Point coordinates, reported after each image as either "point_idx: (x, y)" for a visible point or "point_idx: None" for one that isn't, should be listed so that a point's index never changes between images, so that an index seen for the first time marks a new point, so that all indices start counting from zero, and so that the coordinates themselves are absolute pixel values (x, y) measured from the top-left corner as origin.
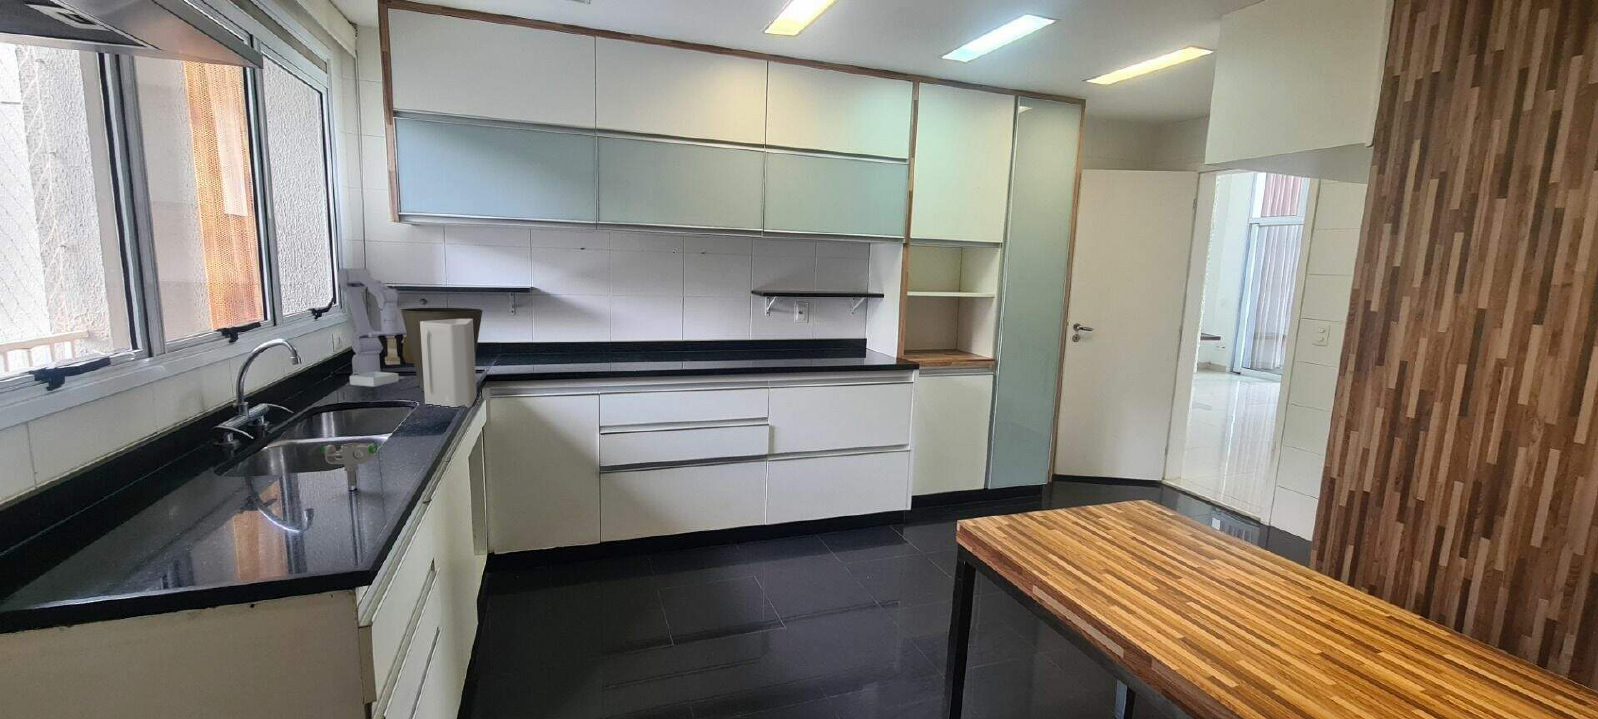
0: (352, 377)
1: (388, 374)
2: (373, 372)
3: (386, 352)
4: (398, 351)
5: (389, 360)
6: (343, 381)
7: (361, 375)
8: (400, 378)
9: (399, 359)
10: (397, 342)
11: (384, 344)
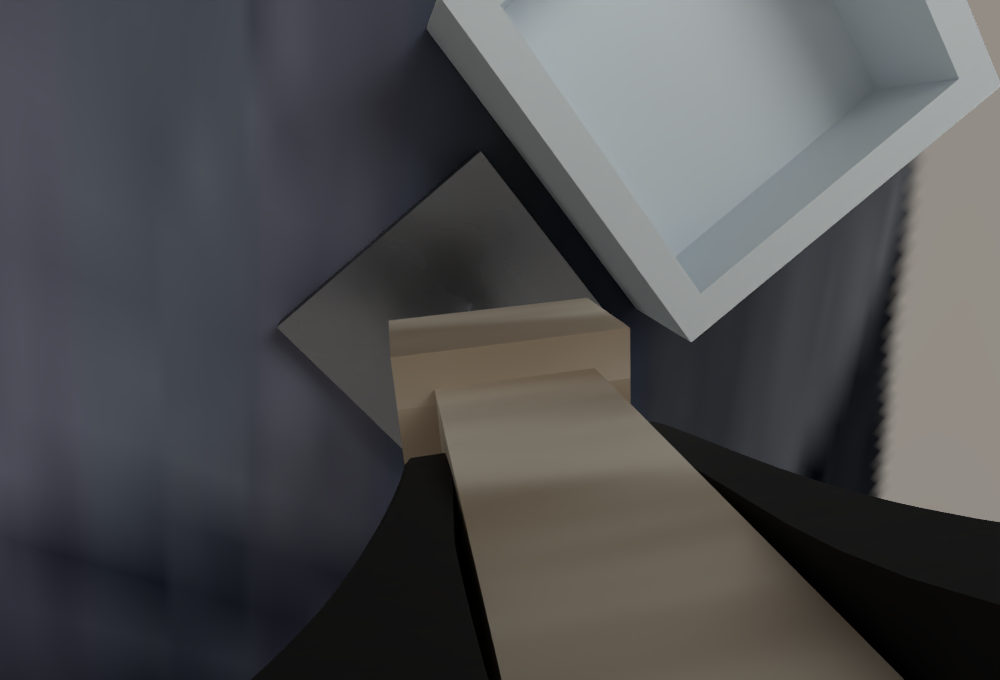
0: (970, 43)
1: (559, 101)
2: (716, 280)
3: (672, 433)
4: (408, 474)
5: (571, 320)
6: (865, 438)
7: (857, 156)
8: (393, 261)
9: (395, 344)
10: (447, 617)
11: (863, 510)
